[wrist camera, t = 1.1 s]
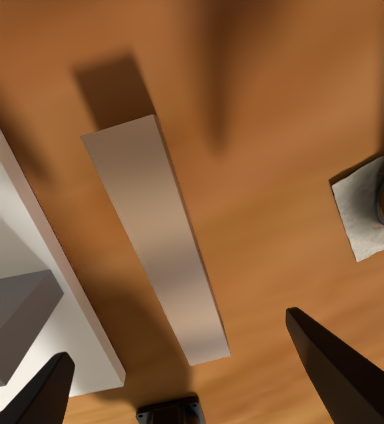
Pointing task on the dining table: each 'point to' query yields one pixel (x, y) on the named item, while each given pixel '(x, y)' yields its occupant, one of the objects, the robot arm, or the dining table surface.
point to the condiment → (363, 208)
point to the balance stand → (43, 298)
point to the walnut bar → (160, 231)
